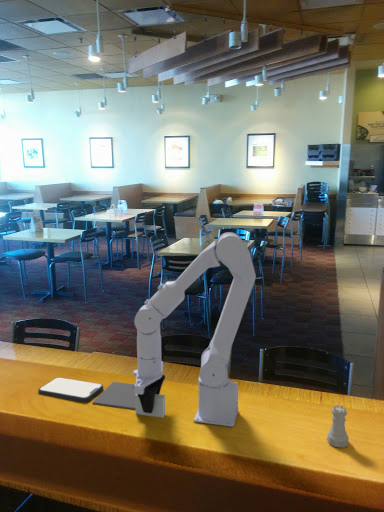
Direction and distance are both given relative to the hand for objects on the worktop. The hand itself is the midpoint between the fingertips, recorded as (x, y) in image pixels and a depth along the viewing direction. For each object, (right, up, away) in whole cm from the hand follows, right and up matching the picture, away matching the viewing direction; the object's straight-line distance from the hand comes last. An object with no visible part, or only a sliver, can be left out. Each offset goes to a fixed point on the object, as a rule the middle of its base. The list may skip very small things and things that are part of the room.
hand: (150, 408), depth 100 cm
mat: (-7, 0, +9) cm, 11 cm away
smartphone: (-23, 0, +12) cm, 26 cm away
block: (0, -2, 0) cm, 2 cm away
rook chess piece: (+41, -3, -11) cm, 43 cm away
